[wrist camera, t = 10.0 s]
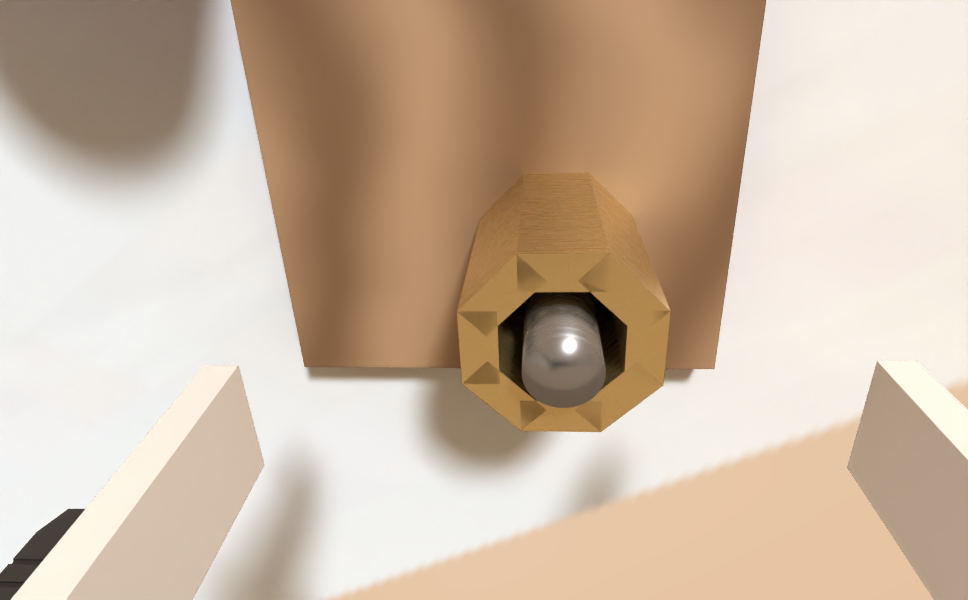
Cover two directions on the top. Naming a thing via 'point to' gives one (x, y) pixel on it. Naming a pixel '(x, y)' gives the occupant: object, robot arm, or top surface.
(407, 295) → the board
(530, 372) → the post
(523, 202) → the bushing
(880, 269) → the top surface
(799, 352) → the top surface
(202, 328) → the top surface
